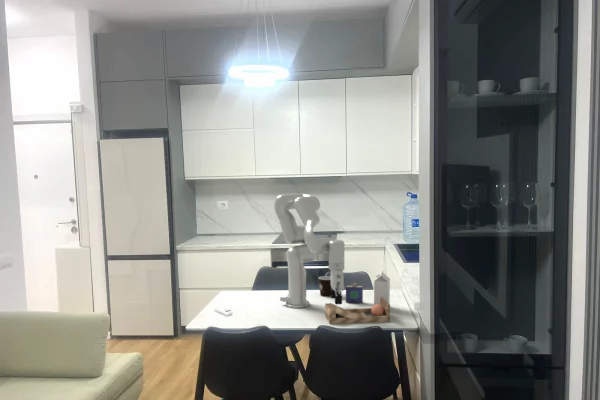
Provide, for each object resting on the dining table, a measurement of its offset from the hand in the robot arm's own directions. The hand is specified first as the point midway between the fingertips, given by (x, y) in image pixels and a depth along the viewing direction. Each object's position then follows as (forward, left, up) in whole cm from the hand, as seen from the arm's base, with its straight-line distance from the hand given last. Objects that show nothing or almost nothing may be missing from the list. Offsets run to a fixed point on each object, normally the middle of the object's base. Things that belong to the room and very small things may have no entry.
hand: (336, 300), depth 199 cm
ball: (+17, 0, -5) cm, 18 cm away
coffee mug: (+2, +38, -9) cm, 39 cm away
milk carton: (+27, +13, -9) cm, 31 cm away
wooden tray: (+11, 0, -9) cm, 14 cm away
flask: (+15, +24, -9) cm, 29 cm away
